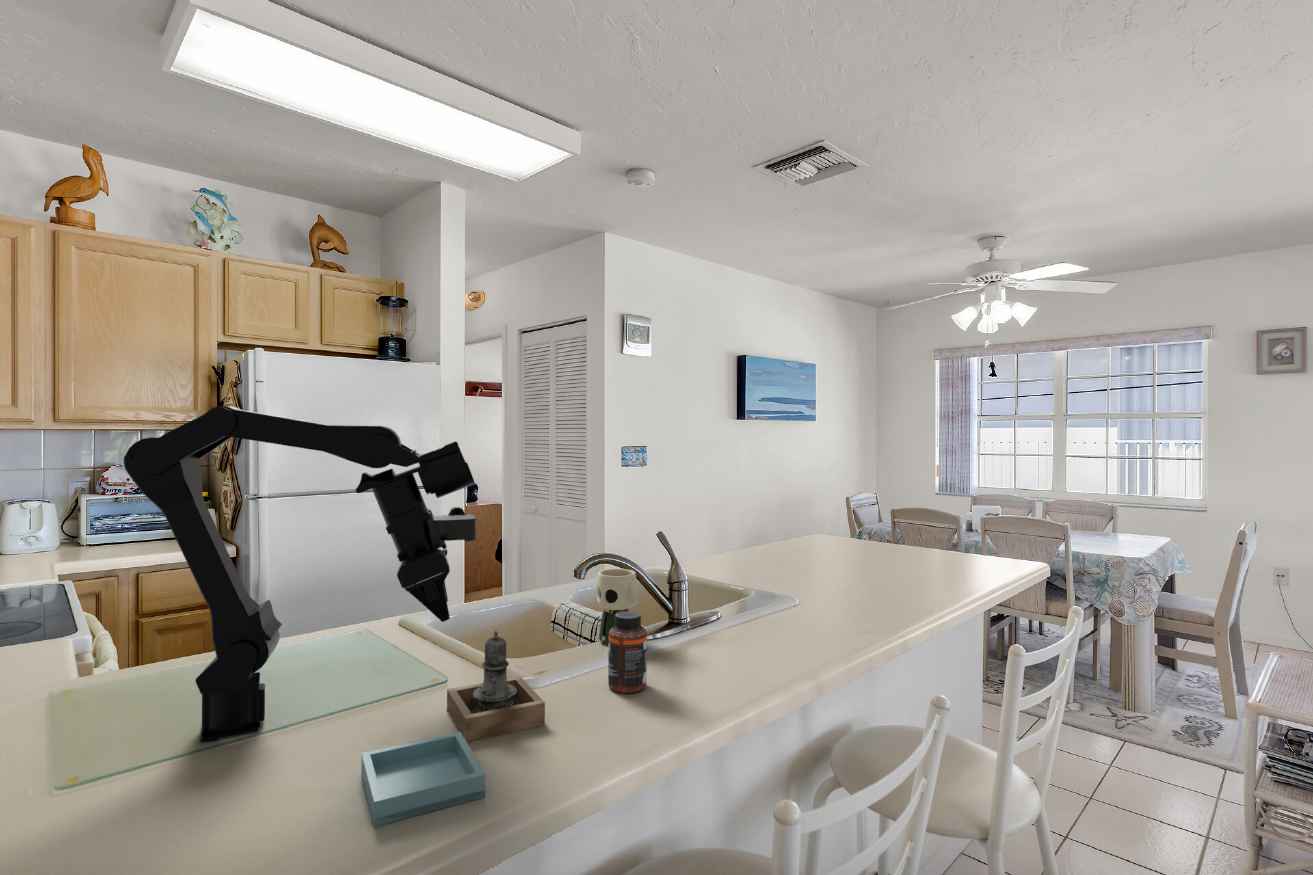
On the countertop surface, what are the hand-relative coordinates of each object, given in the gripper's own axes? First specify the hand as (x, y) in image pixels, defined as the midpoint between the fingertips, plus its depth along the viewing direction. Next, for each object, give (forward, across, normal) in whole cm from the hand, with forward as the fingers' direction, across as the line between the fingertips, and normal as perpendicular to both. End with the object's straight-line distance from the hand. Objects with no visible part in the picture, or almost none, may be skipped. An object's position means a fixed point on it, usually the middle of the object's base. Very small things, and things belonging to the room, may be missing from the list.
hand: (445, 611), depth 94 cm
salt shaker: (+15, -7, -1) cm, 16 cm away
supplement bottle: (+22, -2, -20) cm, 30 cm away
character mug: (+24, +19, -24) cm, 39 cm away
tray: (+11, -22, +7) cm, 26 cm away
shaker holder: (+15, -7, -1) cm, 16 cm away
